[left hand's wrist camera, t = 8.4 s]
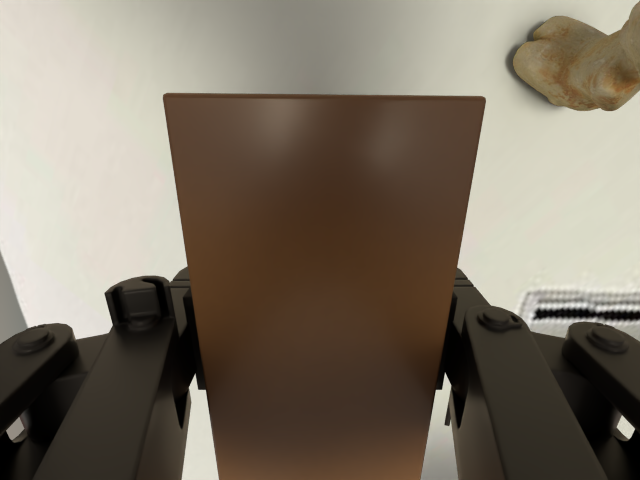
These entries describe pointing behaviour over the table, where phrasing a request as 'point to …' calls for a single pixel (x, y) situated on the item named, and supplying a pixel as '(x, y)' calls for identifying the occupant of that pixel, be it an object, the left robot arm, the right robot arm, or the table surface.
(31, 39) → the table surface
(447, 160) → the post
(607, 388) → the left robot arm
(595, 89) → the sculpture
